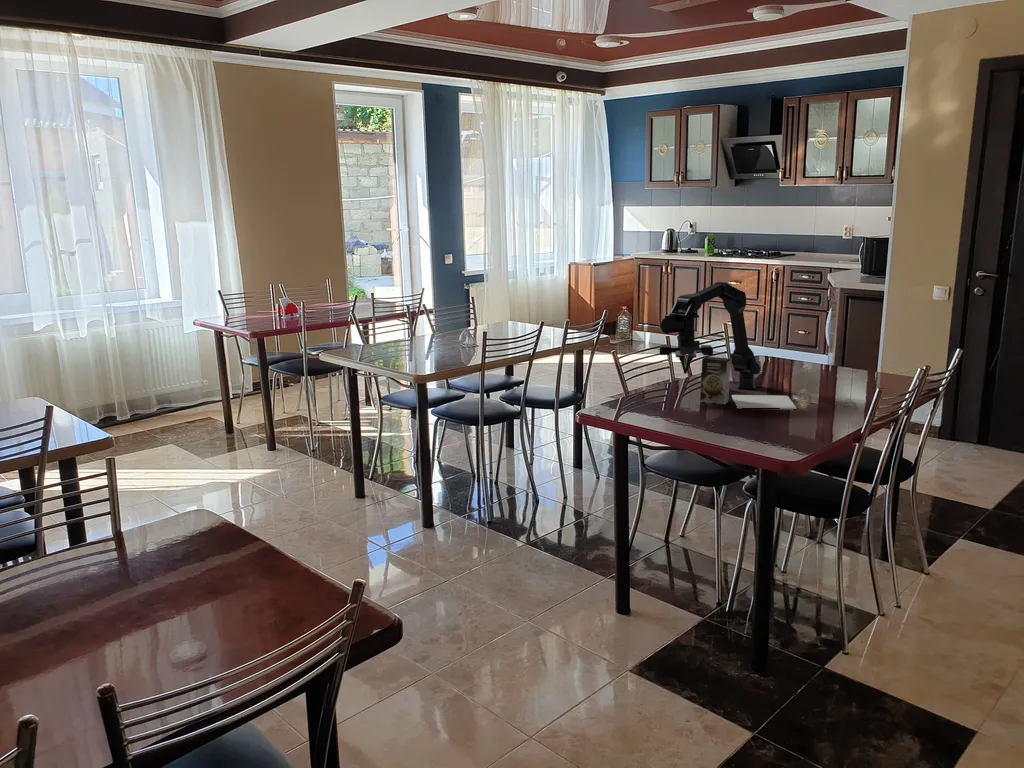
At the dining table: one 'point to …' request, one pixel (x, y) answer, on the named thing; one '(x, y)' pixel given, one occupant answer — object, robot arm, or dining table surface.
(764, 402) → the mat
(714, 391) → the cookie box
